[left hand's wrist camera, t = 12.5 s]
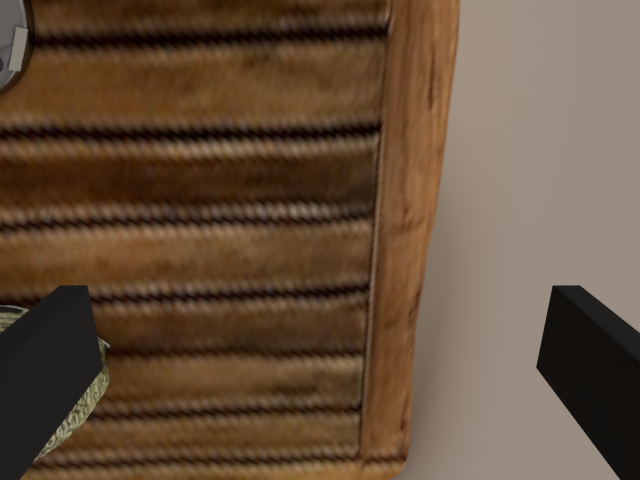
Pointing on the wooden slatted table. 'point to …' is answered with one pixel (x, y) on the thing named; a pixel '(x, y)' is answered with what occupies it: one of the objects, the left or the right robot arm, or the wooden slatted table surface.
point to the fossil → (5, 317)
